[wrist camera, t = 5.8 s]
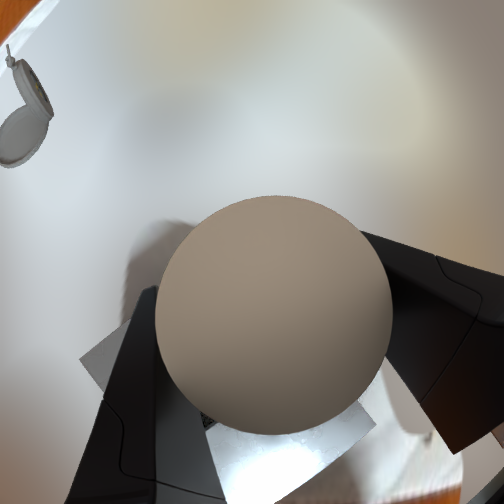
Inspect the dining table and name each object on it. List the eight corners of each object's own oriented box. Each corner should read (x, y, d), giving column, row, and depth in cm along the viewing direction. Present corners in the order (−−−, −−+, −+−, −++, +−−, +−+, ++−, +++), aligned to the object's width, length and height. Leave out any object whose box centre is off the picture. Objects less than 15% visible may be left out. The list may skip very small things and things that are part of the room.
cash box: (352, 407, 21) (376, 424, 17) (236, 492, 19) (242, 520, 15) (228, 250, 21) (232, 240, 18) (100, 348, 19) (78, 359, 15)
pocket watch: (-12, 161, 19) (-71, 117, 10) (31, 90, 21) (-10, 31, 11) (38, 183, 20) (-31, 131, 10) (85, 101, 22) (46, 27, 12)
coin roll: (300, 302, 15) (428, 301, 6) (241, 368, 14) (289, 474, 5) (235, 242, 15) (272, 147, 6) (174, 308, 14) (102, 324, 5)
